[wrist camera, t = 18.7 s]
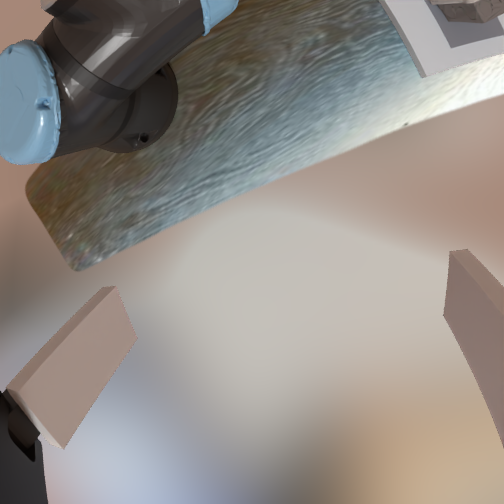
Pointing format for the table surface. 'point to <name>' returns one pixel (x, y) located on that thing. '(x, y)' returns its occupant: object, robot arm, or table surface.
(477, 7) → the electrical switch
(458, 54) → the mounting board
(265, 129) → the table surface
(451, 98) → the table surface
